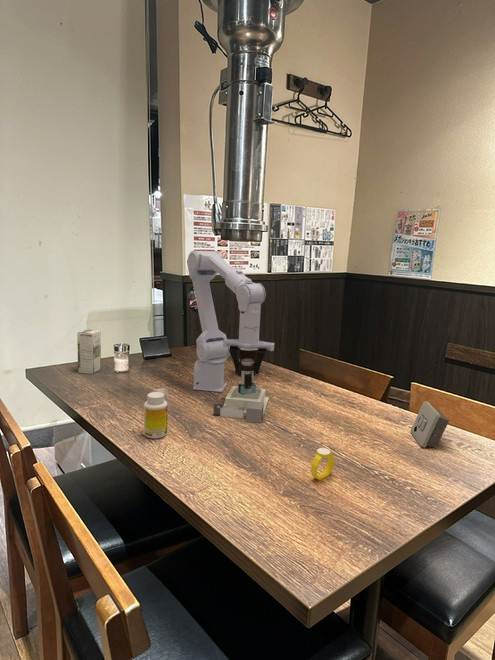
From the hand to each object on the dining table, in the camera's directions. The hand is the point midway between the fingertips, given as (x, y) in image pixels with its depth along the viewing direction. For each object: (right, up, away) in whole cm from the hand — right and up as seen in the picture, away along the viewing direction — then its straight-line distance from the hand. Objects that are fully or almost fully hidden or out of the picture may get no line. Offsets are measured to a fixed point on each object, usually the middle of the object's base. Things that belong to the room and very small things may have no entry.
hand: (247, 372), depth 125 cm
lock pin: (-5, -11, -6) cm, 14 cm away
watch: (+15, -18, -35) cm, 43 cm away
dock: (-1, -10, 0) cm, 10 cm away
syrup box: (-55, -2, +26) cm, 61 cm away
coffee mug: (0, -4, +33) cm, 33 cm away
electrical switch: (+45, -16, -16) cm, 50 cm away
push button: (+1, -6, +2) cm, 6 cm away
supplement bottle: (-22, -13, -19) cm, 32 cm away
